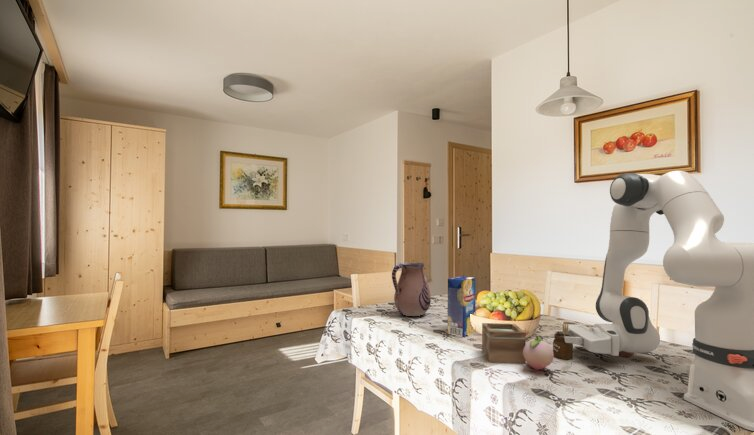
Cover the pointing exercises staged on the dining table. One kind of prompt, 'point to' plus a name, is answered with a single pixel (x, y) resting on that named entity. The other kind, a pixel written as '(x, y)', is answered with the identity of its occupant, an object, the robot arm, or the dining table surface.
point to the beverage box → (460, 305)
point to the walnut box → (503, 343)
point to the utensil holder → (562, 345)
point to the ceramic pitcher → (411, 289)
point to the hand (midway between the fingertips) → (559, 336)
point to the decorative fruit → (538, 353)
